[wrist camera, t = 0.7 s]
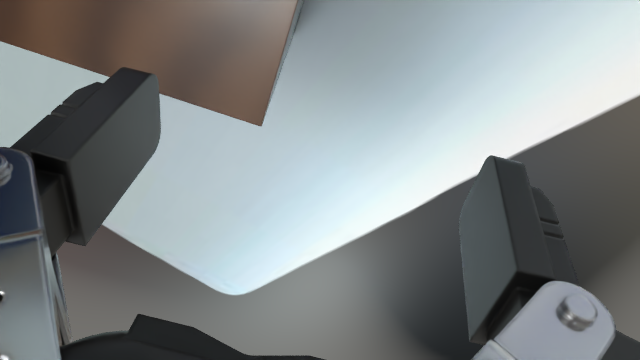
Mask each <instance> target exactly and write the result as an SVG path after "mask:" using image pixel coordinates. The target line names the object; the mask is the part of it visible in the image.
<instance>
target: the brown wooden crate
mask: <svg viewBox="0 0 640 360" xmlns="http://www.w3.org/2000/svg"><path fill="white" fill-rule="evenodd" d="M303 1H304V0H0V41H2V42H5V43H8V44H11V45H14V46H17V47H20V48H23V49H26V50H29V51H32V52H35V53H38V54H41V55H44V56H47V57H50V58H53V59H56V60H60V61H63V62H66V63H69V64H72V65H75V66H78V67H81V68H84V69H87V70H90V71H93V72H96V73H99V74H102V75H105V76H108V77H111V76H112V75H113V74H114V73H115V72H116V71H118V70H119V69H120V68H122V67H127V68H131V69H135V70H139V71H143V72H148V73H152V74H155V75H156V76H157V78H158V82H159V93H160V94H163V95H166V96H169V97H172V98H176V99H179V100H182V101H185V102H188V103H191V104H194V105H197V106H200V107H203V108H206V109H209V110H212V111H215V112H218V113H221V114H224V115H227V116H230V117H233V118H237V119H240V120H243V121H246V122H249V123H252V124H255V125H258V126H262V124H263V121H264V118H265V115H266V112H267V109H268V106H269V103H270V101H271V98H272V95H273V92H274V89H275V86H276V83H277V80H278V78H279V75H280V72H281V69H282V66H283V63H284V60H285V57H286V54H287V52H288V49H289V46H290V43H291V40H292V37H293V34H294V30H295V27H296V24H297V21H298V17H299V14H300V11H301V7H302V4H303Z"/></svg>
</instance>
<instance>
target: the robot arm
mask: <svg viewBox="0 0 640 360" xmlns="http://www.w3.org/2000/svg"><path fill="white" fill-rule="evenodd" d="M160 132H161V125H160V101H159V82H158V78H157V76H156V75H155V74H152V73H148V72H143V71H139V70H135V69H131V68H127V67H122V68H120V69H119V70H118V71H116V72H115V73H114V74H113V75H112V76H111V77H110V78H109V79H108V80H107V81H106V82H104V83H100V82H96V83H93V84H91V85H88V86H86V87H83V88H81V89H78V90H76V91H75V92H74V93H73V94H72V95H70V96H69V97H68V98H67V99H66V100H65V101H63V104H62V105H59V106H58V107H56V108H55V109H54V110H53V111H52V112H51V115H47V116H46V117H45V118H44V119H43V120H41V121H40V122H39V123H38V124H37V125H36V126H34V127H33V128H32V129H31V130H30V131H29V132H28V133H26V134H25V135H24V136H23V137H22V138H21V139H19V140H18V141H17V142H16V143H15V144H14V145H12V146H11V147H10V148H7V147H0V360H324V359H321V358H316V357H313V356H250V355H246V354H243V353H241V352H239V351H237V350H235V349H233V348H231V347H229V346H227V345H226V344H224V343H222V342H220V341H218V340H216V339H215V338H213V337H211V336H209V335H207V334H205V333H203V332H201V331H199V330H198V329H196V328H194V327H190V326H186V325H182V324H178V323H174V322H170V321H166V320H162V319H158V318H154V317H149V316H145V315H141V314H138V315H137V317H136V319H135V320H134V322H133V324H132V326H131V327H130V329H129V331H115V332H106V333H101V334H97V335H92V336H89V337H85V338H82V339H79V340H76V341H74V342H73V338H72V334H71V329H70V324H69V318H68V313H67V307H66V301H65V295H64V289H63V283H62V277H61V272H60V266H59V260H58V256H57V250H58V249H59V248H60V247H61V245H62V244H63V243H64V242H65V241H66V242H70V243H74V244H78V245H82V246H86V244H87V243H88V242H89V240H90V239H91V238H92V236H93V235H94V234H95V232H96V231H97V229H98V228H99V227H100V226H101V224H102V223H103V221H104V220H105V219H106V217H107V216H108V215H109V213H110V212H111V211H112V209H113V208H114V207H115V205H116V204H117V203H118V201H119V200H120V198H121V197H122V196H123V194H124V193H125V192H126V190H127V189H128V188H129V186H130V185H131V184H132V182H133V181H134V180H135V178H136V177H137V175H138V174H139V173H140V171H141V170H142V169H143V167H144V166H145V165H146V163H147V162H148V161H149V159H150V158H151V157H152V155H153V154H154V152H155V150H156V148H157V146H158V143H159V139H160ZM558 223H559V221H558V218H557V215H556V212H555V209H554V206H553V204H552V203H551V202H550V201H549V199H548V198H547V197H546V196H545V195H544V193H543V192H542V191H541V190H540V189H539V188H535V187H531V186H530V183H529V179H528V176H527V172H526V169H525V166H524V164H523V163H521V162H517V161H513V160H509V159H504V158H500V157H496V156H489V157H488V158H487V159H486V161H485V162H484V164H483V166H482V168H481V170H480V172H479V174H478V176H477V178H476V180H475V182H474V184H473V186H472V188H471V190H470V192H469V194H468V196H467V198H466V200H465V202H464V205H463V208H462V211H461V214H460V220H459V232H460V244H461V255H462V266H463V277H464V287H465V298H466V308H467V320H468V331H469V341H470V342H474V343H478V344H482V345H484V347H483V348H482V349H481V350H480V351H479V352H478V353H477V354H476V355H475V356H474V357H473V358H472V360H640V342H638V341H636V340H634V339H632V338H630V337H628V336H626V335H624V334H622V333H621V332H619V331H617V330H616V326H615V323H614V320H613V318H612V316H611V314H610V312H609V311H608V309H607V308H606V307H605V306H604V305H603V303H602V302H600V301H599V300H598V299H597V298H596V297H595V296H594V295H592V294H591V293H590V292H588V291H587V290H585V289H583V288H581V287H580V285H579V283H578V279H577V276H576V273H575V270H574V267H573V264H572V261H571V258H570V255H569V252H568V249H567V246H566V243H565V240H563V233H562V230H561V227H560V226H559V225H558Z"/></svg>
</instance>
